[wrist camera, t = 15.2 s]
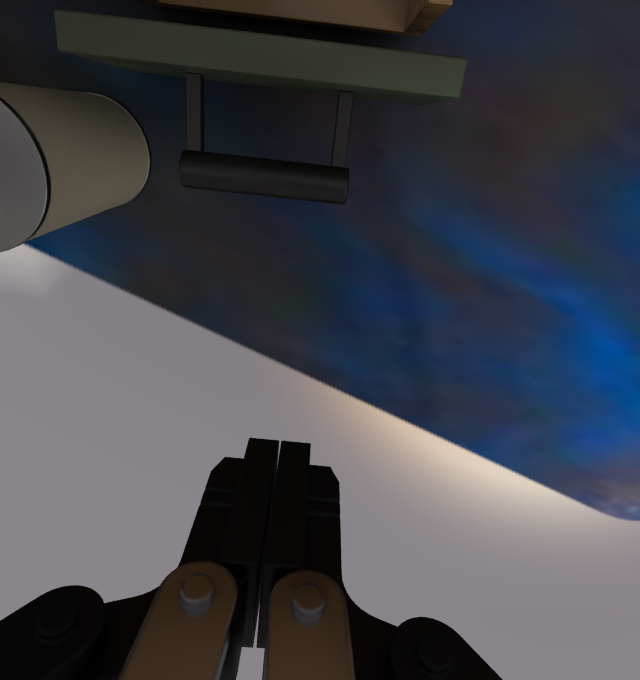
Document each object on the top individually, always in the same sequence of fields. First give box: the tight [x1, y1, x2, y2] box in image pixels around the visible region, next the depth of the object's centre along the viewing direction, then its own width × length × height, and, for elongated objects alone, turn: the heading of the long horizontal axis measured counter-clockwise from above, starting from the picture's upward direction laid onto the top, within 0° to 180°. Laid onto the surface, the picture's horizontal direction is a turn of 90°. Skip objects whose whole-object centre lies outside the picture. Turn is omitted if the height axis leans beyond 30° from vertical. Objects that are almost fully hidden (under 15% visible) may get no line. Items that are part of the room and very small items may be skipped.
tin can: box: [0, 82, 151, 252], centre depth 20 cm, size 6×6×10 cm
